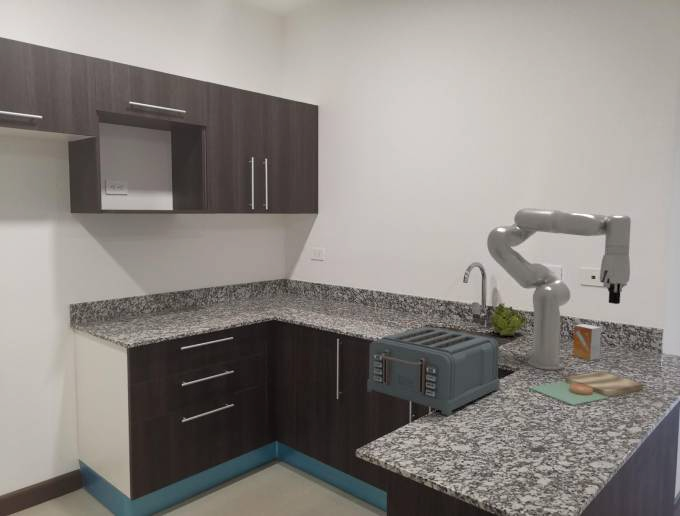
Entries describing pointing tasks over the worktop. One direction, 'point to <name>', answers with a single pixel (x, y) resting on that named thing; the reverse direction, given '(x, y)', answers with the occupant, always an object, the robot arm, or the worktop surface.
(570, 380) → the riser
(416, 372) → the toaster
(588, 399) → the mat
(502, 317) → the lettuce head
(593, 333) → the small box
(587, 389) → the brown round disc
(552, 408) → the worktop surface
